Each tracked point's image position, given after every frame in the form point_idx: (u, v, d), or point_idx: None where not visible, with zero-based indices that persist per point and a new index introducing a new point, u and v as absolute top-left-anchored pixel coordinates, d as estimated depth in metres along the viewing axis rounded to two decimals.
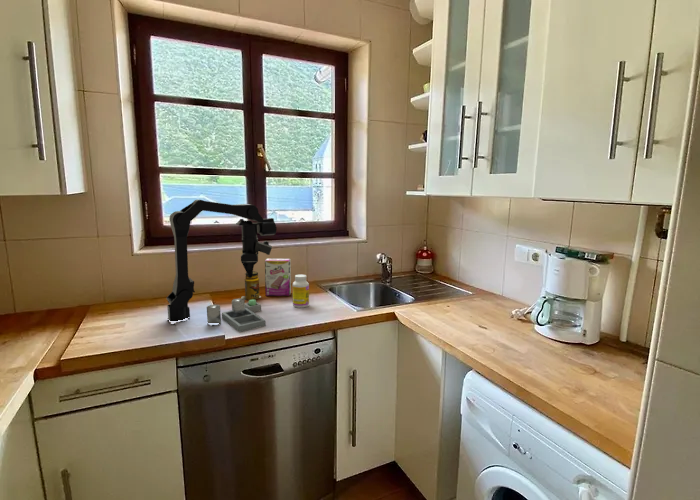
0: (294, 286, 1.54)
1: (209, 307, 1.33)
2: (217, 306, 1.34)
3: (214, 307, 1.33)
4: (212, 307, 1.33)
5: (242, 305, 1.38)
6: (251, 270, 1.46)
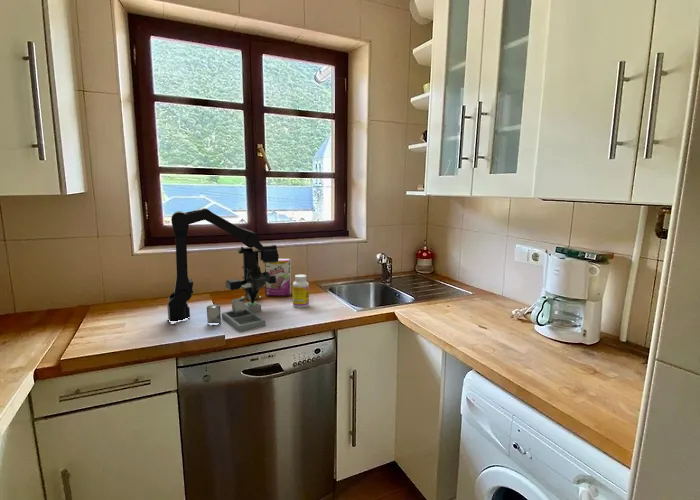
0: (294, 286, 1.54)
1: (209, 307, 1.33)
2: (217, 306, 1.34)
3: (214, 307, 1.33)
4: (212, 307, 1.33)
5: (242, 305, 1.38)
6: (249, 296, 1.48)
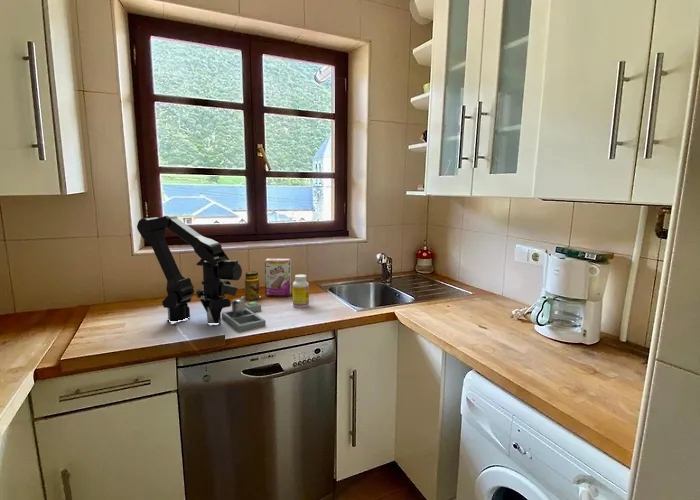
0: (294, 286, 1.54)
1: None
2: None
3: None
4: None
5: (242, 305, 1.38)
6: (218, 315, 1.32)
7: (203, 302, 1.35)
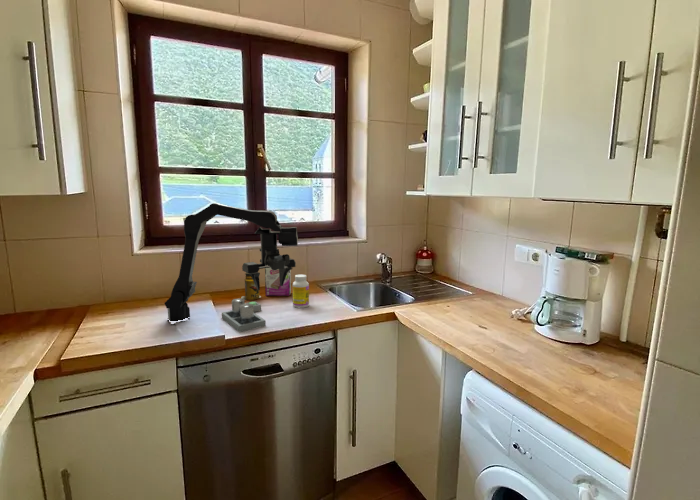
0: (294, 286, 1.54)
1: (244, 305, 1.34)
2: (246, 307, 1.32)
3: (244, 306, 1.33)
4: (243, 306, 1.33)
5: None
6: (256, 282, 1.35)
7: None
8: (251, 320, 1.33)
